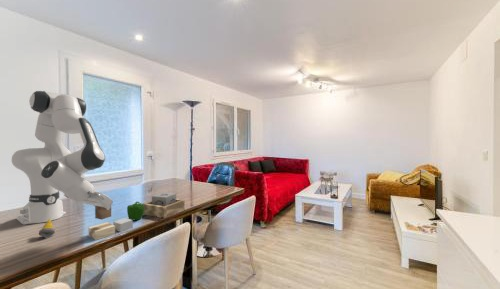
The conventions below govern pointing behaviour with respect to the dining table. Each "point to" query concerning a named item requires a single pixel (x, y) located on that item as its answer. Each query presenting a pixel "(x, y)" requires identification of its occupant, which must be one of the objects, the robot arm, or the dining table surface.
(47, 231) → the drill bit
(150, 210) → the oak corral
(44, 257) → the dining table surface
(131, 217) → the bell pepper
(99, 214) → the walnut block
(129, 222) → the grey painted block
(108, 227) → the maple block
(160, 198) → the icon cube
